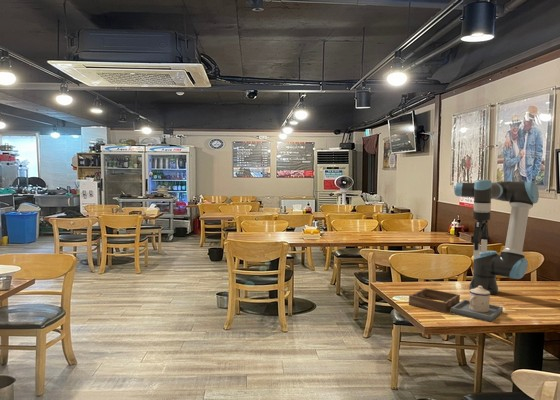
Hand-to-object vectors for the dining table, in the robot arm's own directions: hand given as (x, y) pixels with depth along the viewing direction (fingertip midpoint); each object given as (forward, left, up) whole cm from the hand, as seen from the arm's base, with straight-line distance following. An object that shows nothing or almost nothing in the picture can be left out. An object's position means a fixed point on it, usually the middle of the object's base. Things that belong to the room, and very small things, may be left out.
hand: (480, 254), depth 210 cm
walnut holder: (+8, -18, -27) cm, 33 cm away
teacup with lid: (+7, +2, -26) cm, 27 cm away
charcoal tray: (+7, +2, -27) cm, 28 cm away
